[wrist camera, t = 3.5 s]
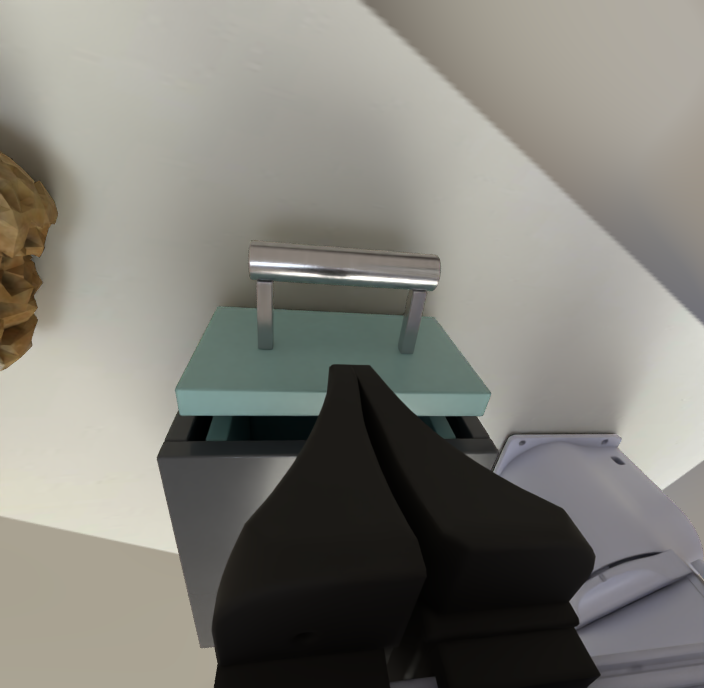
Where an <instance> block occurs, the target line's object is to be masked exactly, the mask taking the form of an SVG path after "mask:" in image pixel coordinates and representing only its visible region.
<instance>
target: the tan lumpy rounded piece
mask: <svg viewBox="0 0 704 688" xmlns="http://www.w3.org/2000/svg"><path fill="white" fill-rule="evenodd" d="M57 216H58V212H57V209H56V205H55V202H54V200H53V199H52V197H51V196H50V195H49V193H48V192H47V190H46V189H45V187H44V186H43V185H42V183H41V182H40V180H39V181H37V182H35V183H34V180H33V179H32V178H31V177H30V176H29V175H28V174H27V173H26V172H25V170H23V169H22V168H21V167H20V166H19V165H18V164H16V163H15V162H14V161H13V159H11V158H9V157H8V156H6V155H5V154H3V153H1V152H0V371H2V370H4V369H6V368H8V367H9V366H10V365H12V364H13V363H14V362H16V361H17V360H18V359H19V358H21V357H22V356H23V355H24V354H25V353H26V352H27V351H28V350H29V349H30V348H31V347H32V341H31V340H32V336H33V333H34V329H35V327H36V324H37V322H38V319H37V317H36V316H35V314H34V312H35V311H36V309H37V308H38V307H37V304H36V301H35V299H34V294H35V293H36V291H37V290H38V289H39V287H40V286H41V285H42V283H43V282H42V280H41V279H40V277H39V275H38V273H37V272H36V268H35V264H34V262H33V261H32V260H30V259H32V258H33V257H32V256H31V255H32V254H33V255H35V256H37V257H40V256H41V254H42V252H43V250H44V248H45V247H44V244H45V240H46V236H47V232H48V228H49V227H50V226H51V224H55V223H56V219H57Z"/></svg>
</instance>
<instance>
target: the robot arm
mask: <svg viewBox="0 0 704 688" xmlns="http://www.w3.org/2000/svg"><path fill="white" fill-rule="evenodd" d="M621 440H622V438H621V437H620V436H619V435H618V434H539V435H512V436H510V437H509V438H508V440H507V442H506V444H505V446H504V449H503V451H502V453H501V455H500V457H499V460H498V462H497V464H496V466H495V469H494V471H493V472H492V471H490V470H489V469H487V468H485V467H484V466H482V465H481V464H479V463H477V462H476V461H474V460H473V459H472V458H470V457H469V456H467V455H466V454H464V453H463V452H461V451H460V450H458V449H457V448H455V447H454V446H453V445H451V444H450V443H449V442H447V441H446V440H445V439H444V438H442V437H441V436H440V435H438V434H437V433H436V432H435V431H433V430H432V429H431V428H430V427H429V426H428V425H426V424H425V423H424V422H423V421H422V420H421V419H420V418H419V417H418V416H417V415H415V414H414V413H413V412H412V411H411V410H410V409H409V408H408V407H407V406H406V405H405V404H404V403H403V402H402V401H401V400H400V399H399V397H398V396H397V395H396V394H395V393H394V392H393V391H392V390H391V389H390V388H389V386H388V385H387V384H386V383H385V382H384V381H383V379H382V378H381V377H380V376H379V375H378V374H377V372H376V371H375V370H374V369H373V368H372V367H371V366H370V365H349V364H332V365H331V366H330V367H329V374H328V385H327V393H326V396H325V400H324V403H323V406H322V408H321V411H320V413H319V416H318V418H317V420H316V423H315V425H314V427H313V429H312V431H311V433H310V435H309V437H308V439H307V441H306V443H305V444H304V446H303V448H302V449H301V451H300V453H299V454H298V456H297V458H296V459H295V461H294V462H293V464H292V465H291V467H290V468H289V470H288V471H287V473H286V474H285V475H284V477H283V478H282V479H281V481H280V482H279V483H278V485H277V486H276V487H275V489H274V490H273V492H272V493H271V494H270V495H269V496H268V498H267V499H266V500H265V501H264V502H263V503H262V505H261V506H260V507H259V508H258V509H257V510H256V511H255V513H254V514H253V515H252V516H251V517H250V518H249V520H248V521H247V522H246V523H245V524H244V527H243V529H242V531H241V533H240V535H239V537H238V539H237V541H236V543H235V545H234V548H233V550H232V552H231V554H230V557H229V559H228V561H227V564H226V566H225V569H224V572H223V575H222V578H221V581H220V585H219V588H218V592H217V596H216V602H215V608H214V614H213V620H212V629H211V631H212V636H213V642H214V647H215V652H216V658H217V663H218V665H217V671H216V677H215V684H214V688H704V581H703V580H702V579H701V578H700V577H699V576H698V574H700V575H701V576H702V578H703V579H704V561H703V548H702V544H701V541H700V539H699V536H698V534H697V532H696V530H695V528H694V526H693V524H692V523H691V521H690V520H689V518H688V517H687V516H686V515H685V513H684V512H683V511H682V510H681V509H680V508H679V507H678V506H677V505H676V504H675V503H674V502H673V501H672V500H671V499H670V498H669V497H668V496H667V495H666V494H665V493H664V492H663V491H662V490H661V489H660V488H659V487H658V486H657V485H656V484H655V483H654V482H652V481H651V480H650V479H649V478H648V477H647V476H646V475H645V474H644V473H643V472H642V471H641V470H640V469H639V468H638V467H637V466H636V465H635V464H634V463H633V462H632V461H631V460H630V459H629V458H628V457H627V456H626V455H625V454H624V453H623V452H622V451H621V450H620V449H619V448H618V445H619V444H620V442H621Z"/></svg>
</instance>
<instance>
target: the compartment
mask: <svg viewBox="0 0 704 688" xmlns="http://www.w3.org/2000/svg"><path fill="white" fill-rule="evenodd" d="M445 417H446V419H447V421H448V423H449V425H450V427H451V429H452V431H453V433H454V435H455V437H456V439H445V440H446V441H447V442H449V443H450V444H451V445H453V446H454V447H455V448H457V449H458V450H460V451H461V452H463V453H464V454H466V455H467V456H469V457H470V458H472V459H473V460H474V461H476V462H477V463H479V464H481V465H482V466H484V467H485V468H487V469H489V470H490V471H491V470H492V467H493V465H494V463H495V461H496V458H497V456H498V454H499V451H498V449H497V448H496V446H495V445H494V443H493V441H492V440H491V439H490V437H489V435H488V433H487V432H486V430H485V429H484V427H483V426H482V424H481V422H480V421H479V419H478V418H477V416H445ZM212 419H213V416H181V415H180V414H179V410H178V412H177V414H176V416H175V419H174V421H173V423H172V425H171V427H170V429H169V432H168V434H167V436H166V438H165V442H164V443H163V445H162V447H161V449H160V451H159V454H158V456H157V462H158V466H159V470H160V475H161V479H162V483H163V488H164V492H165V496H166V501H167V505H168V509H169V514H170V518H171V522H172V527H173V531H174V535H175V540H176V544H177V548H178V553H179V556H180V561H181V565H182V570H183V574H184V579H185V583H186V587H187V592H188V596H189V600H190V605H191V608H192V613H193V618H194V622H195V626H196V631H197V635H198V639H199V644H200V648H209V647H214V642H213V636H212V631H211V629H212V620H213V614H214V608H215V602H216V596H217V592H218V588H219V585H220V581H221V578H222V575H223V572H224V569H225V566H226V564H227V561H228V559H229V557H230V554H231V552H232V550H233V548H234V545H235V543H236V541H237V539H238V537H239V535H240V533H241V531H242V529H243V527H244V524H245V523H246V522H247V521H248V520H249V518H250V517H251V516H252V515H253V514H254V513H255V511H256V510H257V509H258V508H259V507H260V506H261V505H262V503H263V502H264V501H265V500H266V499H267V498H268V496H269V495H270V494H271V493H272V492H273V490H274V489H275V487H276V486H277V485H278V483H279V482H280V481H281V479H282V478H283V477H284V475H285V474H286V473H287V471H288V470H289V468H290V467H291V465H292V464H293V462H294V461H295V459H296V458H297V456H298V454H299V453H300V451H301V449H302V448H303V446H304V444H305V443H306V441H307V440H253V441H206V437H207V434H208V431H209V428H210V425H211V422H212Z"/></svg>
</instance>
